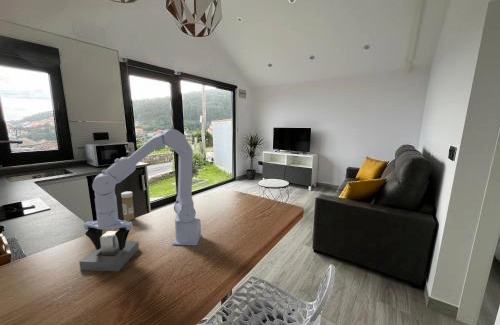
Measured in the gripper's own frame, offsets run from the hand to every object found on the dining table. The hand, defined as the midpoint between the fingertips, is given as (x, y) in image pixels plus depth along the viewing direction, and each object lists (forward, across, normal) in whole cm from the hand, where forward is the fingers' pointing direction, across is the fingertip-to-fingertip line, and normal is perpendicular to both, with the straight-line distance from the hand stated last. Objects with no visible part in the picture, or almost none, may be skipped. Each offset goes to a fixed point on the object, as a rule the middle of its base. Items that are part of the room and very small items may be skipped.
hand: (111, 248), depth 71 cm
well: (+4, 0, 0) cm, 4 cm away
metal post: (+4, 0, 0) cm, 4 cm away
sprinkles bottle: (+4, +10, -29) cm, 31 cm away
